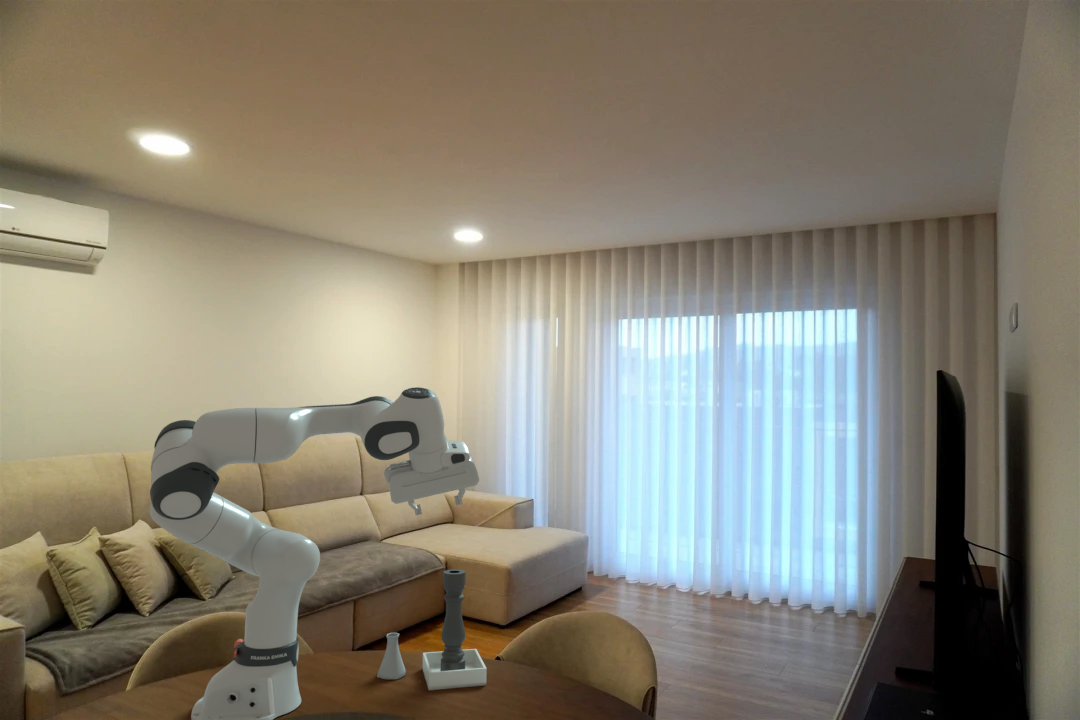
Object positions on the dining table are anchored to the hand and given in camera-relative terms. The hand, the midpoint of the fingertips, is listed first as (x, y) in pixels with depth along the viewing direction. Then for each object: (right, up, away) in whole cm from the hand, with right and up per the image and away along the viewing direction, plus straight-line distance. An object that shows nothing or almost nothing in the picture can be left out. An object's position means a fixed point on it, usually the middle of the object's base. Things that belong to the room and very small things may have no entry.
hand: (438, 508), depth 161 cm
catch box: (+2, -45, +14) cm, 47 cm away
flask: (-14, -45, +15) cm, 50 cm away
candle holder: (+1, -45, +15) cm, 47 cm away
